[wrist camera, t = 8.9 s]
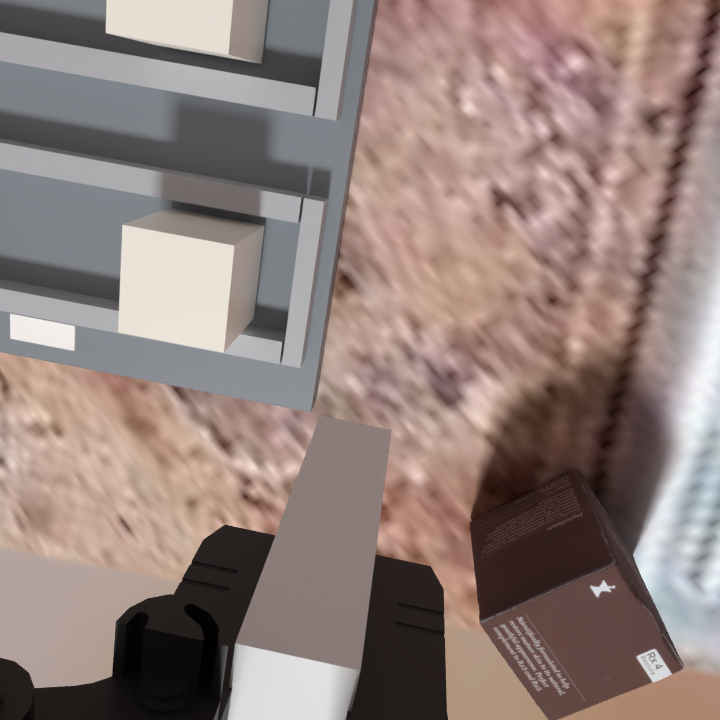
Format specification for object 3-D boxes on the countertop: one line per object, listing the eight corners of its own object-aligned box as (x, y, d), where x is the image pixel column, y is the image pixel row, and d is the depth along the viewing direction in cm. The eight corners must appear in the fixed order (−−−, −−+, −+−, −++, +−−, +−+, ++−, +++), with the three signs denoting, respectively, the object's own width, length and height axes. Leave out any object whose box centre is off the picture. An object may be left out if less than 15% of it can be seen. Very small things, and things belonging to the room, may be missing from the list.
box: (466, 517, 34) (474, 621, 27) (578, 463, 32) (618, 558, 25) (526, 606, 35) (548, 726, 28) (636, 558, 34) (688, 673, 27)
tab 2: (169, 207, 28) (122, 224, 24) (264, 225, 28) (234, 245, 24) (163, 300, 29) (117, 332, 25) (253, 318, 29) (223, 352, 25)
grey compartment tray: (-54, -229, 25) (-108, -266, 23) (402, -155, 24) (398, -185, 22) (-31, 332, 33) (-69, 350, 30) (316, 399, 32) (306, 423, 30)
